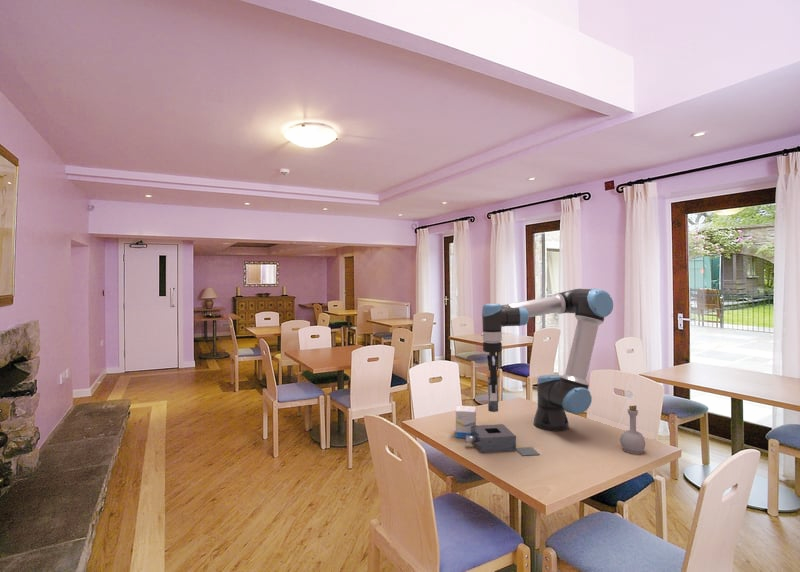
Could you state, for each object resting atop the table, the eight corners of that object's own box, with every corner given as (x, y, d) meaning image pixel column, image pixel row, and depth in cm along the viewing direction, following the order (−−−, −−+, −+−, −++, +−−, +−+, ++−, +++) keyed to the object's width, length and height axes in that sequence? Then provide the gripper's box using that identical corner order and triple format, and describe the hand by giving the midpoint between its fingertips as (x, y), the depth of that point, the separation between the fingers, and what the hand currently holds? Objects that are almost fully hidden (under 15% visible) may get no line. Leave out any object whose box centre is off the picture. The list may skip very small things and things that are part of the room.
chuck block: (503, 438, 181) (503, 424, 181) (516, 451, 167) (515, 435, 167) (461, 440, 179) (461, 426, 179) (471, 453, 165) (471, 438, 165)
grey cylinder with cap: (486, 408, 176) (485, 369, 176) (499, 408, 176) (498, 370, 175) (487, 412, 171) (486, 372, 171) (500, 412, 171) (499, 372, 170)
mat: (532, 448, 170) (532, 447, 170) (539, 455, 163) (539, 454, 163) (515, 449, 170) (515, 448, 170) (522, 456, 163) (522, 455, 163)
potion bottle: (636, 456, 161) (636, 409, 161) (615, 448, 169) (615, 403, 169) (651, 452, 165) (651, 406, 165) (629, 444, 173) (629, 400, 173)
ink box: (475, 439, 180) (475, 411, 180) (455, 437, 182) (455, 410, 182) (476, 432, 189) (476, 405, 189) (457, 431, 191) (456, 404, 190)
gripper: (481, 338, 182) (482, 393, 182) (483, 344, 165) (484, 404, 165) (499, 338, 181) (500, 393, 181) (503, 345, 164) (504, 405, 164)
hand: (493, 398), depth 173 cm, fingers closed on grey cylinder with cap, 4 cm apart
